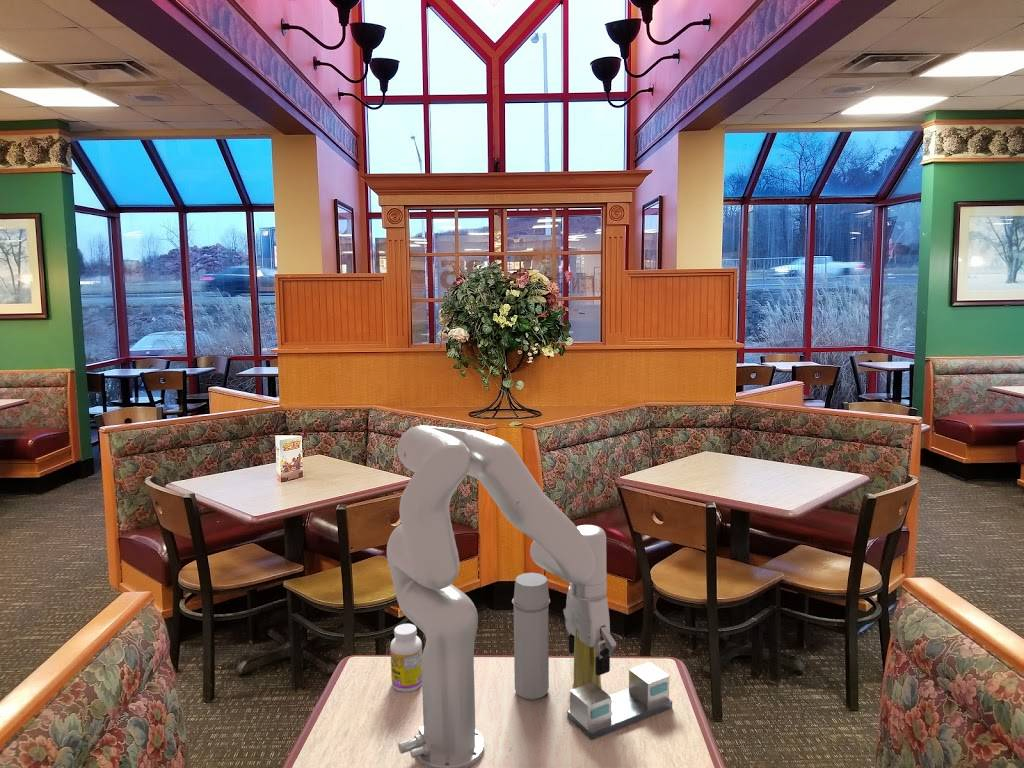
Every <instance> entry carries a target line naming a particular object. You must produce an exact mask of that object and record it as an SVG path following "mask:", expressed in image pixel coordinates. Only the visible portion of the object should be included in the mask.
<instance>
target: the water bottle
mask: <svg viewBox="0 0 1024 768" xmlns="http://www.w3.org/2000/svg"><path fill="white" fill-rule="evenodd" d="M511 603H512V604H513V652H514V653H513V655H514V656H513V657H514V659H513V661H514V663H513V664H514V669H513V670H514V671H513V672H514V690H515V692H516V694H517V695H518V696H519V697H521V698H523V699H527V700H537V699H539V700H540V699H541V698H542V697H545V695H547V693H548V692H549V688H550V685H549V680H550V677H549V675H550V673H549V672H550V670H549V669H550V667H549V664H550V663H549V662H550V661H549V657H550V655H549V645H550V643H549V636H550V635H549V604H550V603H551V599H550V593H549V582H548V578H547V577H546V576H545V574H542V573H537V572H525V573H522V574H519V575H517V576H516V578H515V581H514V591H513V598H512V600H511Z"/></svg>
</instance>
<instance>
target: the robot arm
mask: <svg viewBox="0 0 1024 768" xmlns="http://www.w3.org/2000/svg"><path fill="white" fill-rule="evenodd" d="M396 449H397V450H396V451H397V456H398V459H399V461H400V463H401V464H402V465H403V467H405V468H406V469H408V470H409V471H411V472H413V473H414V474H413V475H412V477H411V478H410V480H409V482H408V483H407V485H406V486H405V488H404V490H403V493H402V495H401V496H400V500H399V508H398V509H399V511H398V512H399V519H400V524H398V525H397V526H396V527H395V528H394V529H393V531H391V534H390V536H389V538H388V541H387V545H386V560H387V563H388V564H387V565H388V568H389V572H390V576H391V577H390V578H391V581H392V584H393V585H392V586H393V588H394V593H395V596H396V600H397V603H398V605H399V608H400V610H401V612H402V613H403V614H404V616H405V617H406V618H407V619H408V620H409V621H411V623H413V625H415V626H416V627H417V628H418V629H419V630H421V631H422V632H423V634H424V636H425V644H424V648H423V649H422V659H421V674H422V685H421V690H422V691H421V693H422V717H423V719H422V720H423V725H422V726H419V727H418V733H417V734H415V735H414V737H412V738H411V739H406V740H403V741H401V742H398V750H399V753H400V754H401V755H403V754H405V753H410V758H412V759H414V758H417V760H418V761H419V762H420V764H422V765H423V766H425V767H426V768H469V767H470V766H472V765H474V764H476V763H477V762H478V761H479V760H480V758H481V757H482V756H483V754H484V750H485V739H484V737H483V735H482V733H481V732H479V730H477V729H476V697H475V695H476V694H475V689H476V688H475V661H474V660H475V659H474V655H475V653H474V652H475V651H474V650H475V641H476V636H477V635H476V634H477V630H478V625H479V615H478V611H477V608H476V606H475V604H474V602H473V601H472V599H471V598H470V597H469V596H468V595H467V594H466V593H464V592H463V591H462V590H461V589H459V588H458V587H457V586H455V585H453V584H454V582H455V581H456V580H457V577H458V575H459V572H460V558H459V551H458V547H457V544H456V543H457V542H456V538H455V534H454V530H453V525H452V521H451V514H450V513H451V512H450V503H451V500H452V497H453V495H454V493H455V491H456V490H457V488H458V486H459V485H461V483H462V481H463V480H464V479H465V477H466V476H467V475H468V476H470V477H472V478H474V479H476V480H478V481H479V482H480V483H481V484H482V486H483V488H485V490H486V491H487V493H488V494H489V496H490V497H491V499H492V500H493V502H494V503H495V504H496V505H497V507H498V508H499V510H500V512H501V513H502V514H503V516H504V517H505V519H506V520H507V521H508V522H509V523H510V524H512V525H513V527H515V528H516V529H517V530H518V531H520V532H522V533H523V534H524V535H526V536H527V537H529V538H530V539H531V540H533V541H532V542H531V544H530V549H529V553H530V558H531V559H532V561H533V562H534V563H535V564H536V565H537V566H538V567H540V568H542V570H545V571H547V572H549V573H550V574H553V575H555V576H556V577H558V578H560V579H562V580H563V581H565V582H566V583H568V584H569V587H568V589H567V594H566V600H565V602H566V604H565V608H563V609H562V612H563V616H564V619H565V620H564V623H565V628H566V633H567V634H568V653H569V654H571V655H572V654H574V640H575V638H574V636H575V637H576V630H575V629H577V630H579V640H580V641H581V642H583V643H584V644H586V645H587V646H589V647H594V648H595V651H596V653H597V657H596V658H595V664H596V675H598V676H599V675H600V676H602V675H604V674H607V673H609V672H610V670H611V669H610V668H611V656H612V654H614V652H615V649H616V646H617V642H616V641H615V639H614V637H613V636H612V635H611V633H610V632H611V627H610V626H611V625H610V624H611V623H610V622H611V621H610V612H609V611H610V610H609V602H608V597H607V534H606V531H605V530H604V529H603V528H602V527H601V526H599V525H594V524H582V525H577V526H576V525H575V523H574V522H573V521H572V520H571V519H570V518H569V517H568V516H567V515H566V514H565V513H564V512H563V511H562V510H561V509H560V508H559V507H558V506H557V505H556V504H555V502H554V501H553V500H551V499H550V498H549V497H548V496H547V495H546V493H544V491H543V490H542V488H541V487H540V485H539V484H538V482H537V481H536V479H535V478H534V476H533V475H532V473H531V472H530V470H529V469H528V467H527V466H526V464H525V462H524V461H523V460H522V458H521V457H520V455H519V453H518V452H517V450H516V449H515V448H514V447H513V445H511V444H510V443H509V442H508V441H507V440H505V439H502V438H499V437H497V436H493V435H491V434H488V433H486V432H482V431H478V430H469V429H459V428H451V427H450V428H449V427H441V426H433V425H421V424H420V425H416V426H413V427H411V428H409V429H406V431H405V432H404V433H402V435H401V437H400V438H399V440H398V443H397V448H396ZM577 637H578V632H577ZM599 638H600V641H599ZM599 645H600V647H599ZM601 645H603V647H604V649H602V650H601Z"/></svg>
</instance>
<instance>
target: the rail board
mask: <svg viewBox="0 0 1024 768" xmlns="http://www.w3.org/2000/svg"><path fill="white" fill-rule="evenodd" d="M569 700H570V701H569V710H567V711H566V714H567V715H566V718H567V719H568V720H569V721H570V722H571V723H572V724H573V725H574V726H575V727H576V728H577V729H578V730H580V732H581V733H582V734H584V735H585V736H586V737H587V739H589V740H590V741H594V740H596V739H597V738H600V737H603V736H606V735H608V734H610V733H613V732H615V731H617V730H620V729H622V728H625V727H627V726H630V725H633V724H635V723H638V722H640V721H643V720H645V719H648V718H651V717H653V716H655V715H658V714H659V713H663V712H665V711H667V710H671V709H673V700H671V699H670V675H669V674H668V673H667V672H665V671H664V670H662V669H661V668H660V667H659V666H657V665H655V664H654V663H652V662H651V661H648V662H645V663H643V664H640V665H637V666H635V667H632V668H629V669H628V687H627V688H626V689H623V690H619V691H617V692H615V693H612V694H608V693H607V692H606V691H604V689H601V688H600V687H599V686H597V685H596V684H595V683H594V682H592V683H589V684H586V685H583V686H581V687H578V688H575V689H573V688H572V689H570V690H569Z"/></svg>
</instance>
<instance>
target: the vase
mask: <svg viewBox="0 0 1024 768" xmlns="http://www.w3.org/2000/svg"><path fill="white" fill-rule="evenodd" d="M575 630H576V637H575V636H574V638H575V640H574V653H573V684H572V689H575V688H578V687H581V686H583V685H586V684H589V683H592V682H594V683H595V684H596V685H597V686H599V687H600V688H601V689H602V680H601V679H602V677H601V676H602V675H599V676H598V675H596V664H595V658H596V657H597V653H596V651H595V648H594V647H589V646H587V645H586V644H584V643H583V642H581V641H580V640H579V630H577V629H575ZM577 632H578V637H577ZM599 641H601V639H600V638H599ZM599 647H600V648H601V645H599ZM602 690H603V689H602Z"/></svg>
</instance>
